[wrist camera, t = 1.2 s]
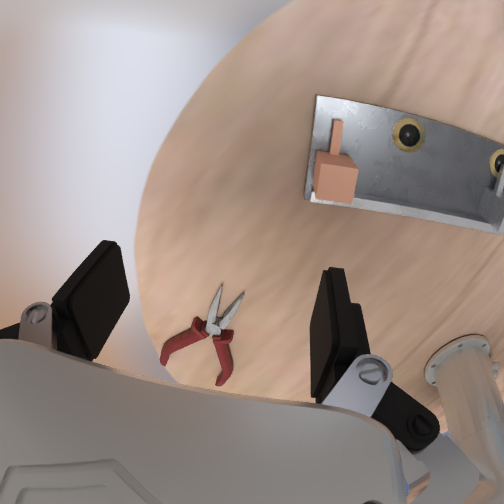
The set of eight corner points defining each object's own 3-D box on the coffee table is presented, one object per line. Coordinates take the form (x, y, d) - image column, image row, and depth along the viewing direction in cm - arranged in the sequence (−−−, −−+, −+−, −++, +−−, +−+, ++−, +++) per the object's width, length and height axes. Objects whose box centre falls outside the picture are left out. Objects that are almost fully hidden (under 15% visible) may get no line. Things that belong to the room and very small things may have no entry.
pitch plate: (515, 150, 24) (547, 168, 19) (491, 227, 29) (517, 254, 24) (316, 94, 25) (323, 98, 20) (303, 193, 31) (306, 221, 25)
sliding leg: (354, 122, 25) (365, 131, 21) (343, 185, 28) (351, 204, 24) (321, 117, 25) (326, 124, 21) (312, 181, 28) (315, 199, 24)
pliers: (277, 300, 39) (275, 314, 37) (225, 378, 50) (222, 391, 47) (191, 265, 38) (184, 277, 36) (161, 354, 48) (156, 366, 46)
